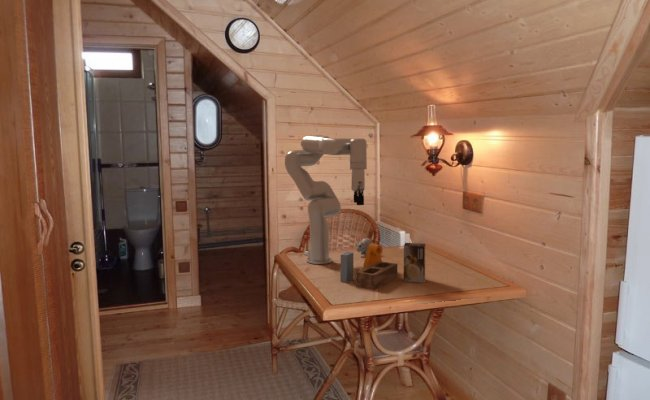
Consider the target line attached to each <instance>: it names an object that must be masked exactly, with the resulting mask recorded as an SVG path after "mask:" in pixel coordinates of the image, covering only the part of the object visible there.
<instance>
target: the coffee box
mask: <svg viewBox="0 0 650 400" xmlns="http://www.w3.org/2000/svg"><path fill="white" fill-rule="evenodd" d="M403 282H408V283H422V284H424V283H425V282H426V243H421V242H420V243H418V242H417V243H416V242H405V243H404V245H403Z"/></svg>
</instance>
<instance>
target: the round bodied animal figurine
mask: <svg viewBox="0 0 650 400" xmlns="http://www.w3.org/2000/svg"><path fill="white" fill-rule="evenodd" d="M371 243H373V244H374V242H373V240H372V239H371V238H368V237H366V238H363V239H361V241H357V245H356V248H355V250H356V252H357V253H361V254H363V255H366V253H367V249H368V246H369V245H370V244H371Z"/></svg>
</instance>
